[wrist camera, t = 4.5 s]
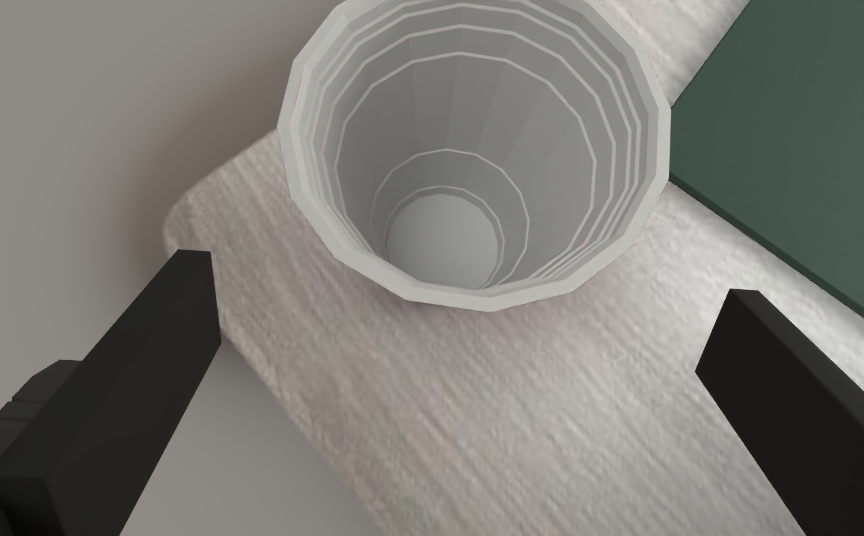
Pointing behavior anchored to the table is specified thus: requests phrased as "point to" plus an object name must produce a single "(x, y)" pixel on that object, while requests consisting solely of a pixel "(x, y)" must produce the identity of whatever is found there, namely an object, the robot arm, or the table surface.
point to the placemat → (783, 136)
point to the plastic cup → (475, 145)
